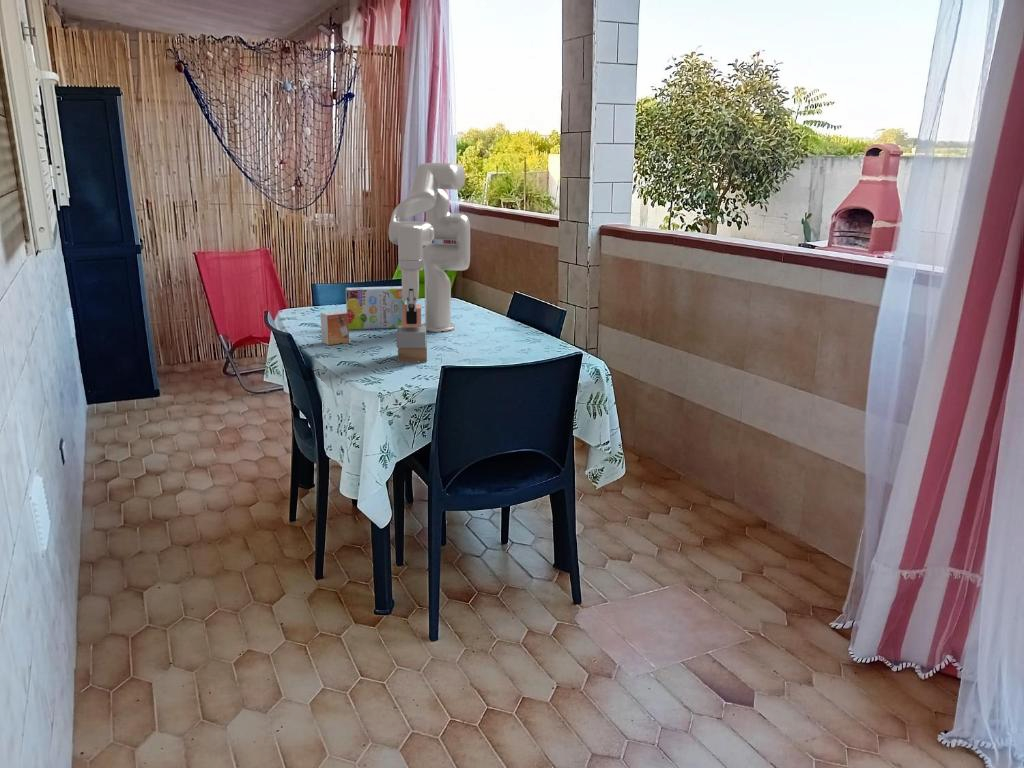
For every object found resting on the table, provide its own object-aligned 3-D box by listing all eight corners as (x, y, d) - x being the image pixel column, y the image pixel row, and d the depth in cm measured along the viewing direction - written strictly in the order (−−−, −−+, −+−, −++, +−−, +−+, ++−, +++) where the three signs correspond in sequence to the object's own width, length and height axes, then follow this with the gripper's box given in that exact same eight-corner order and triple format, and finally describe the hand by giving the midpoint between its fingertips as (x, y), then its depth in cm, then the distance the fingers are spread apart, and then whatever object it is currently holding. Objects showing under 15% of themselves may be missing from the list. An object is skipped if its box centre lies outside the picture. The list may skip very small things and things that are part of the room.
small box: (328, 345, 262) (326, 315, 259) (321, 342, 267) (319, 312, 263) (349, 342, 267) (348, 312, 264) (343, 339, 271) (341, 309, 268)
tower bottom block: (398, 355, 253) (398, 340, 252) (426, 355, 254) (426, 340, 253) (398, 363, 244) (398, 347, 243) (426, 362, 246) (426, 347, 244)
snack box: (403, 324, 295) (403, 285, 291) (405, 328, 290) (404, 288, 286) (347, 326, 290) (345, 286, 286) (347, 330, 285) (346, 289, 281)
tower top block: (398, 340, 252) (398, 325, 250) (426, 340, 252) (426, 325, 251) (396, 347, 243) (396, 332, 242) (425, 347, 244) (425, 332, 242)
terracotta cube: (402, 322, 249) (401, 304, 247) (420, 322, 249) (420, 304, 248) (402, 327, 243) (401, 308, 241) (421, 326, 244) (421, 308, 242)
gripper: (398, 260, 248) (399, 315, 253) (398, 269, 232) (399, 327, 237) (422, 260, 249) (422, 315, 254) (423, 269, 233) (424, 327, 238)
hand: (411, 320), depth 246 cm, fingers closed on terracotta cube, 6 cm apart
